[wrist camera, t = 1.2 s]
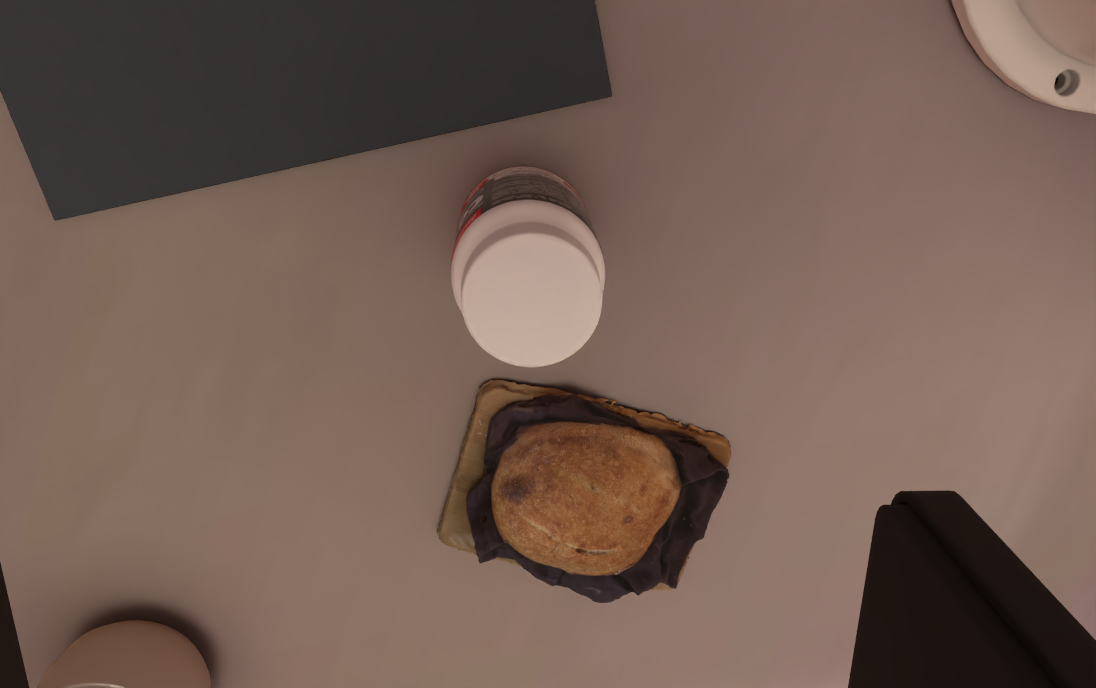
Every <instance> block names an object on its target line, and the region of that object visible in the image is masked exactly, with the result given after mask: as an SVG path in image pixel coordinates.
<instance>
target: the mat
mask: <svg viewBox="0 0 1096 688" xmlns="http://www.w3.org/2000/svg"><path fill="white" fill-rule="evenodd" d="M0 91H1V93H2V95H3V98H4V100H5V103H6V105H7V107H8V110H9V112H10V115H11V117H12V119H13V122H14V124H15V127H16V129H17V131H18V134H19V136H20V139H21V141H22V143H23V146H24V148H25V151H26V153H27V155H28V158H29V160H30V163H31V165H32V167H33V170H34V172H35V175H36V177H37V179H38V182H39V184H40V187H41V189H42V191H43V194H44V196H45V199H46V201H47V203H48V206H49V208H50V211H51V213H52V215H53V218H54V220H60V219H65V218H69V217H74V216H78V215H83V214H87V213H91V212H96V211H100V210H105V209H109V208H114V207H118V206H123V205H127V204H132V203H136V202H141V201H145V200H150V199H154V198H159V197H163V196H168V195H172V194H177V193H181V192H186V191H190V190H195V189H199V188H204V187H208V186H213V185H217V184H221V183H226V182H230V181H235V180H239V179H244V178H248V177H253V176H257V175H262V174H266V173H271V172H275V171H280V170H284V169H289V168H293V167H298V166H302V165H307V164H311V163H316V162H320V161H325V160H329V159H334V158H338V157H343V156H347V155H351V154H356V153H360V152H365V151H369V150H374V149H378V148H383V147H387V146H392V145H396V144H401V143H405V142H410V141H414V140H419V139H423V138H428V137H432V136H437V135H441V134H446V133H450V132H455V131H459V130H464V129H468V128H472V127H477V126H481V125H486V124H490V123H495V122H499V121H504V120H508V119H513V118H517V117H522V116H526V115H531V114H535V113H540V112H544V111H549V110H553V109H558V108H562V107H567V106H571V105H576V104H580V103H585V102H589V101H594V100H598V99H602V98H607V97H611V96H612V93H611V88H610V82H609V76H608V71H607V65H606V60H605V54H604V49H603V43H602V38H601V32H600V27H599V21H598V16H597V10H596V5H595V0H0Z"/></svg>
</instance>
